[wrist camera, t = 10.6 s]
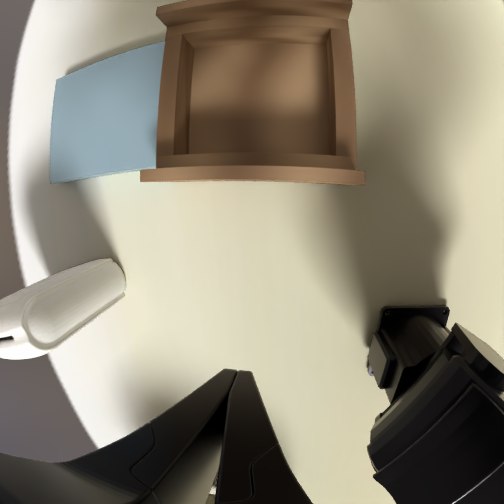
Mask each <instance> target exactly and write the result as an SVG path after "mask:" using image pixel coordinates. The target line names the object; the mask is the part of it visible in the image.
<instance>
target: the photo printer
mask: <svg viewBox="0 0 504 504" xmlns="http://www.w3.org/2000/svg"><path fill="white" fill-rule="evenodd" d="M125 289H126V281H125V277H124V274H123V272H122V270H121V268H120V267H119V266H118V265H117V264H116V263H115V262H113V261H112V259H111V258H107V259H99V260H94V261H91V262H87V263H84V264H81V265H78V266H75V267H72V268H69V269H66V270H64V271H61V272H58V273H56V274H54V275H51V276H49V277H47V278H45V279H43V280H41V281H39V282H37V283H34V284H32V285H30V286H28V287H26V288H24V289H22V290H20V291H18V292H16V293H13V294H11V295H9V296H7V297H5V298H3V299H1V300H0V357H1V358H5V359H27V358H33V357H38V356H41V355H44V354H47V353H49V352H51V351H52V350H54V349H56V348H57V347H58V346H60V345H61V344H62V343H64V342H65V341H66V340H67V339H69V338H70V337H72V336H73V335H74V334H76V333H77V332H78V331H80V330H81V329H82V328H84V327H85V326H86V325H88V324H89V323H90V322H92V321H93V320H94V319H96V318H97V317H99V316H100V315H101V314H103V313H104V312H105V311H107V310H108V309H109V308H111V307H112V306H113V305H115V304H116V303H118V302H119V301H120V300H121V299H123V297H124V296H125V294H124V291H125Z"/></svg>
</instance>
